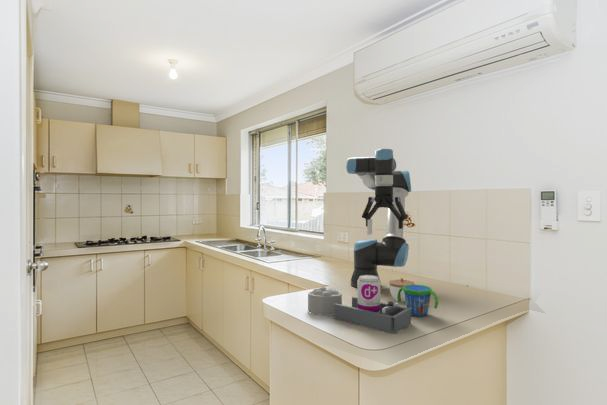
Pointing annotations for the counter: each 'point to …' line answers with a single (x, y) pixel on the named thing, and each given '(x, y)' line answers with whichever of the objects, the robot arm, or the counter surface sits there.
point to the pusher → (391, 308)
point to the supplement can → (368, 293)
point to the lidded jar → (397, 285)
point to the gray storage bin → (374, 317)
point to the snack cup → (418, 298)
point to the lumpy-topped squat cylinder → (323, 300)
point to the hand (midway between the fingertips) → (383, 235)
